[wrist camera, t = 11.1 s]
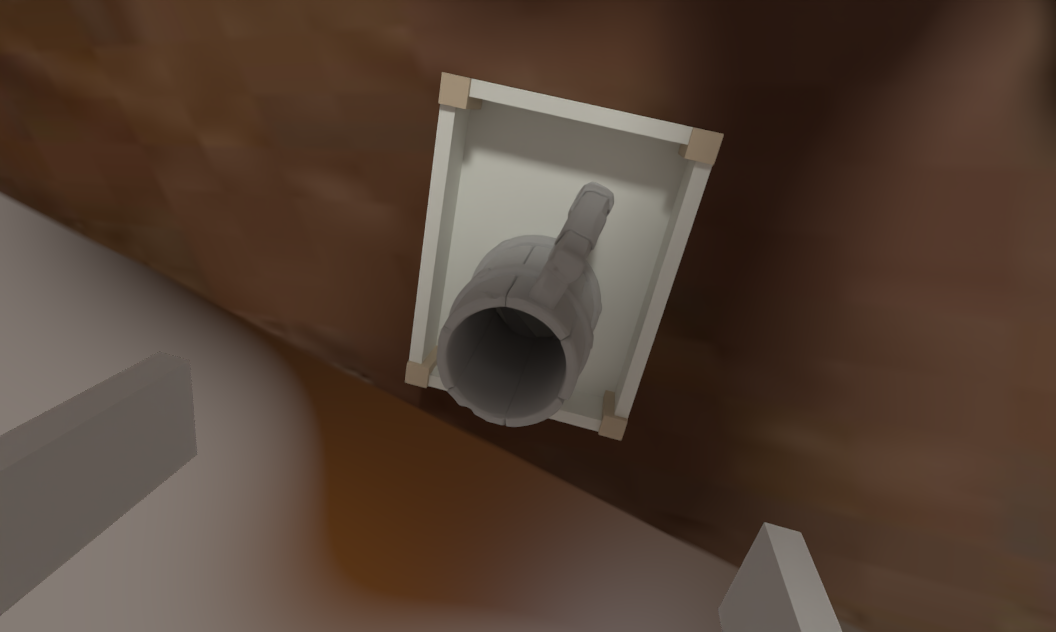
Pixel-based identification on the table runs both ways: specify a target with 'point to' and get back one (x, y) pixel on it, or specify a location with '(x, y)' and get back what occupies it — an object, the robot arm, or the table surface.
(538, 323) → the crate
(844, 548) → the table surface
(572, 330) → the mug
